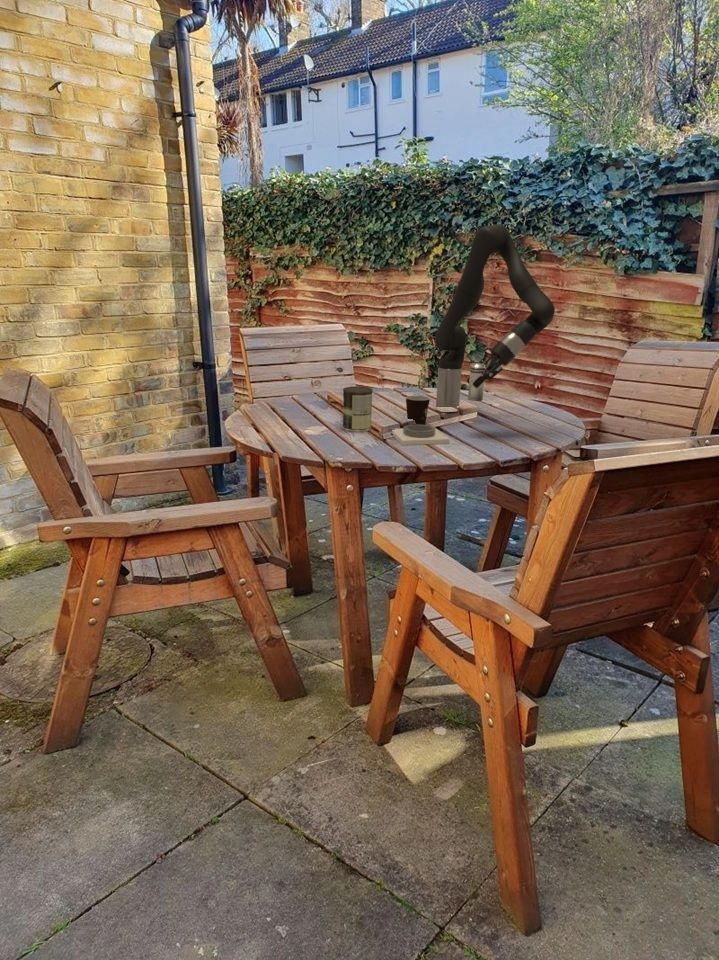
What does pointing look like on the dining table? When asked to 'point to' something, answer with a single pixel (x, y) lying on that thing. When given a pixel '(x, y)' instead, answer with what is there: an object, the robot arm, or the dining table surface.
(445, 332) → the robot arm
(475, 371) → the cylinder
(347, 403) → the coffee can
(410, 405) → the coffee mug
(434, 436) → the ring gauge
